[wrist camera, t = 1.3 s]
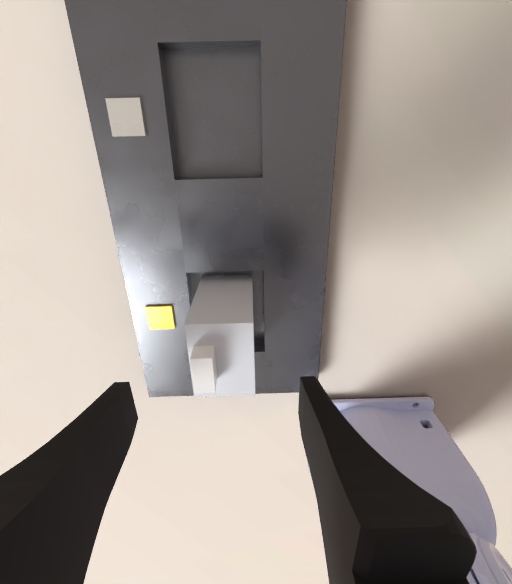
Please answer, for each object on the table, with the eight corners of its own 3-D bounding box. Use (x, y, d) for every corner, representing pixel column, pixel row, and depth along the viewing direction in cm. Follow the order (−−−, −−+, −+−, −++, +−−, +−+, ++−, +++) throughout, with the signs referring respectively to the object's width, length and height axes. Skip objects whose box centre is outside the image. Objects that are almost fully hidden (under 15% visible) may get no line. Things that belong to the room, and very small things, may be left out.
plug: (252, 274, 20) (253, 334, 14) (253, 333, 22) (255, 410, 16) (201, 275, 20) (180, 336, 14) (207, 334, 22) (191, 411, 16)
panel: (342, -53, 14) (353, -77, 13) (313, 377, 24) (317, 393, 23) (69, -48, 14) (47, -71, 13) (154, 382, 24) (148, 398, 23)
